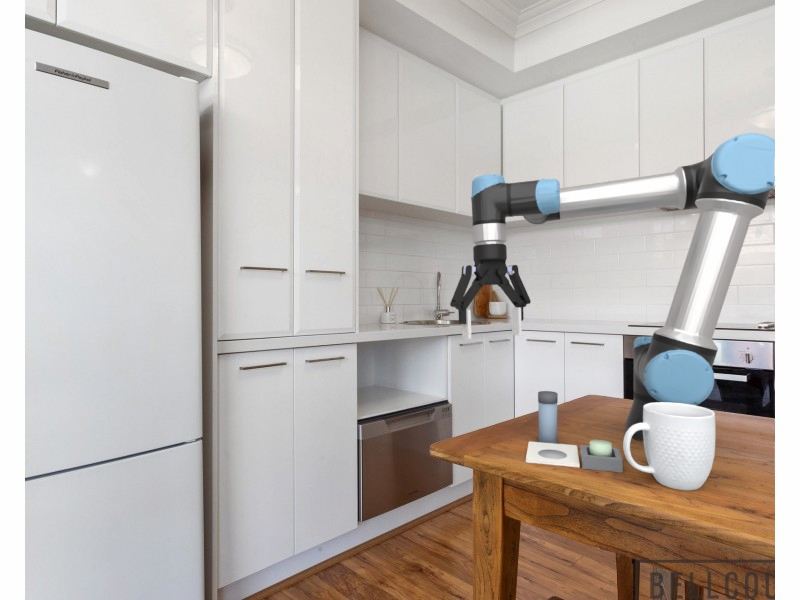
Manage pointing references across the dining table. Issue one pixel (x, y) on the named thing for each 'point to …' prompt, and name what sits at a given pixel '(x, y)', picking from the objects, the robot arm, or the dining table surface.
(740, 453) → the dining table surface
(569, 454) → the white flat plate
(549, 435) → the capped blue-grey cylinder
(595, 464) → the button housing
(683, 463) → the mug
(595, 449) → the button
